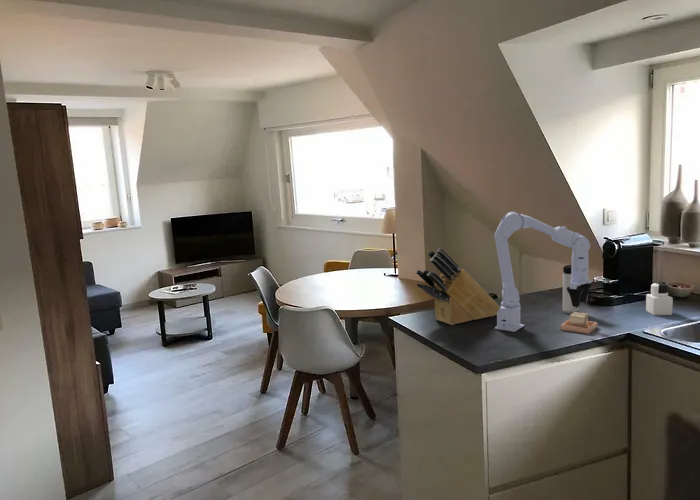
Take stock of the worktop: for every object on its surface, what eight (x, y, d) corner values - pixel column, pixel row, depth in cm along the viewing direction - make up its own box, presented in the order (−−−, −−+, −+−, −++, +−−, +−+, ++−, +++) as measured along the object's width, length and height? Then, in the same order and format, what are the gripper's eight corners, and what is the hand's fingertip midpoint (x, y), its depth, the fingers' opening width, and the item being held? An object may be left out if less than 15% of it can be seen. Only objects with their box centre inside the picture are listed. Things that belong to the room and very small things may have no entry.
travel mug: (581, 314, 222) (582, 266, 219) (564, 314, 223) (564, 266, 220) (578, 310, 228) (578, 263, 225) (561, 310, 229) (561, 263, 226)
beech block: (583, 330, 200) (583, 317, 199) (569, 328, 203) (569, 315, 202) (587, 326, 203) (588, 313, 203) (574, 324, 206) (574, 312, 206)
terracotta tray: (588, 334, 196) (588, 329, 196) (560, 330, 203) (560, 324, 202) (597, 327, 204) (597, 322, 203) (570, 323, 210) (570, 318, 210)
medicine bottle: (663, 310, 221) (665, 281, 220) (672, 315, 214) (673, 285, 213) (645, 310, 222) (646, 282, 220) (653, 315, 215) (654, 285, 213)
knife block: (415, 323, 220) (412, 248, 215) (483, 310, 235) (483, 239, 230) (431, 330, 210) (429, 251, 205) (501, 315, 225) (501, 241, 220)
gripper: (584, 272, 192) (584, 310, 194) (597, 265, 202) (596, 301, 205) (564, 270, 196) (563, 307, 198) (577, 264, 207) (577, 299, 209)
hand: (579, 304), depth 202 cm, fingers open, 7 cm apart
